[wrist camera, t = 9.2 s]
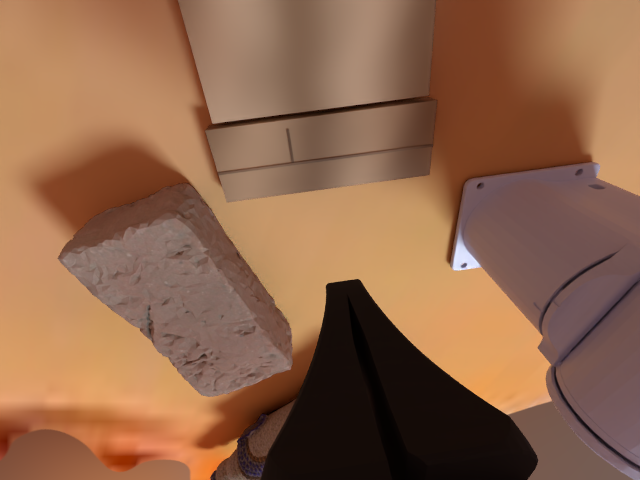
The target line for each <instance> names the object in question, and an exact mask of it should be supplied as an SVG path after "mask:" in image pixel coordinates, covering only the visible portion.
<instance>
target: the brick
mask: <svg viewBox="0 0 640 480" xmlns="http://www.w3.org/2000/svg"><path fill="white" fill-rule="evenodd" d="M58 259H59V261H60V262H61V263H62V264H63V265H64V266H65V267H66V268H67V269H68V270H69V272H70V273H71V274H73V275H75V276H76V278H77V279H78V280H79V281H80V282H81V283H82V284H83V285H84V286H86V288H87V289H88V290H89V291H90V292H91V293H92V295H94V296H96V297H97V298H98V299H99V300H100V301H101V302H102V303H103V304H105V305H107V306H108V307H109V308H110V309H111V310H113V311H114V312H115V313H117V314H118V315H120V316H121V317H122V318H124V319H125V320H126V321H128V322H129V323H130V324H132V325H133V326H135V327H138V328H140V331H141V332H142V333H143V334H144V335H145V336H146V337H147V338H149V339H150V340H151V341H152V343H153V345H154V347H155V348H156V349H157V351H158V352H159V353H162V355H163V356H165V357H168V358H169V360H170V362H171V363H172V364H173V366H174V367H175V368H177V371H178V372H179V373H180V374H181V375H182V376H183V378H184V379H185V380H186V381H188V382H189V383H190V384H191V385H192V387H193V388H194V389H195V390H197V391H198V392H199V393H200V394H201V395H203V396H208V397H211V396H218V395H221V394H228V393H230V392H232V391H236V390H239V389H241V388H243V387H246V386H250V385H253V384H256V383H258V382H260V381H261V380H264V379H266V378H268V377H271V376H272V375H273V374H276V373H280V372H284V371H287V370H291V366H292V364H293V361H292V349H293V348H292V334H291V328H290V326H289V323H288V322H287V320H286V319H285V317H284V316H283V314H282V312H281V311H280V310H278V309H277V308H275V302H274V299H273V298H272V297H270V296H269V294H268V293H267V291H266V289H265V288H264V287H263V285H262V284H261V282H260V281H259V279H258V277H257V276H256V275H255V274H254V273H253V272H252V270H251V268H250V267H249V265H248V264H247V263H246V261H245V260H244V259H243V258H242V257H241V255H240V253H239V252H238V250H237V249H236V247H235V246H234V244H233V243H232V242H231V241H230V239H229V238H228V237H227V236H226V234H225V232H224V230H223V228H222V226H221V225H220V224H219V222H218V220H217V219H216V217H215V216H214V214H213V213H212V211H211V210H210V208H209V207H208V206H207V205H206V204H205V202H204V201H203V200H202V198H201V196H200V195H199V194H198V193H197V192H196V190H195V189H194V188H193V187H192V186H191V185H189V184H187V183H184V184H177V185H175V186H173V187H169V186H167V187H164V188H162V189H161V190H160V191H158V192H156V193H155V194H153V195H150V196H149V197H148V198H144V199H141V200H137V201H136V202H133V203H132V204H125V205H123V206H121V207H114V208H110V209H107V210H105V211H104V212H102V213H100V214H98V215H95V216H94V217H93V218H92V219H90V220H89V221H88V222H87V223H86V224H85V226H84V227H83V228H82V229H80V230H79V231H78V232H77V233H76V234H75V235H74V238H73V240H70V241H69V242H68V243H67V244H66V245H65V246H64V248H63V249H62V251H61V253H60V255H59V257H58Z"/></svg>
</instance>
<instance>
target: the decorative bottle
mask: <svg viewBox="0 0 640 480" xmlns="http://www.w3.org/2000/svg"><path fill="white" fill-rule="evenodd" d="M295 400H296V399H295ZM295 400H293V401H292V402H290V403H289V404H287V405H285V406H284V407H282V408H280V409H278V410H277V411H275V412H273V413H271V414H269V415H268V416H267V415H265V414H262V415H261V416H260V418H259V419H258V421H257V422H256V423H255V424H253V425H251V426H250V427H248V428H247V429H246V430H245V431H244V432H243V434H242V435H241V437H240V438H239V439H238V441H237V443H238V445H237V449H236V450H235V451H234V452H233V454H232V455H231V456H230V457H229V458H227V459H225V460H224V461H222V462H221V463H220V464H219V466H218V467H217V470H216V471H214V472H213V474H212V475H211V477H210V479H211V480H261V476H262V472H263V468H264V465H265V461H266V458H267V454H268V451H269V450H270V448H271V446H272V444H273V442H274V441H275V439H276V437H277V435H278V433H279V432H280V430H281V428H282V426H283V425H284V423H285V421H286V419H287V417H288V415H289V413H290V411H291V409H292V407H293V405H294V402H295Z"/></svg>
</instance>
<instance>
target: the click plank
mask: <svg viewBox="0 0 640 480" xmlns="http://www.w3.org/2000/svg"><path fill="white" fill-rule="evenodd" d="M178 2H179V6H180V10H181V13H182V17H183V20H184V24H185V27H186V31H187V35H188V38H189V42H190V45H191V49H192V52H193V56H194V60H195V63H196V67H197V70H198V74H199V77H200V81H201V85H202V88H203V92H204V95H205V99H206V102H207V106H208V110H209V113H210V117H211V120H212V124H214V123H222V122H229V121H237V120H245V119H252V118H260V117H268V116H276V115H283V114H291V113H299V112H306V111H314V110H322V109H330V108H337V107H345V106H353V105H360V104H368V103H376V102H383V101H391V100H399V99H407V98H414V97H422V96H429V88H430V75H431V62H432V49H433V35H434V22H435V9H436V0H178Z"/></svg>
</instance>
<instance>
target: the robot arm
mask: <svg viewBox="0 0 640 480" xmlns="http://www.w3.org/2000/svg"><path fill="white" fill-rule="evenodd" d="M599 169H600V165H599V164H597V163H595V162H589V163H581V164H574V165H567V166H559V167H552V168H545V169H537V170H530V171H523V172H515V173H508V174H501V175H493V176H486V177H479V178H472V179H469V180H468V181H466V183H465V184H464V188H463V194H462V200H461V205H460V211H459V217H458V223H457V228H456V234H455V240H454V245H453V251H452V257H451V262H450V267H451V268H452V269H453V270H455V271H458V270H465V269H472V268H478V267H482V268H483V269H484V270H485V271H486V272H487V273H488V275H489V276H490V277H491V278H492V279H493V280H494V281H495V282H496V284H497V285H498V286H499V287H500V288H501V289H502V290H503V292H504V293H505V294H506V295H507V296H508V297H509V298H510V299H511V301H512V302H513V303H514V304H515V305H516V306H517V307H518V309H519V310H520V311H521V312H522V313H523V314H524V315H525V316H526V318H527V319H528V320H529V321H530V322H531V323H532V324H533V325H534V327H535V328H536V329H537V330H538V331H539V332H540V333H541V335H542V336H543V339H542V341H541V343H540V345H539V346H538V349H539V350H540V352H541V353H542V354H543V355H544V356H545V358H546V359H547V360H548V361H549V362H550V364H551V366H550V367H549V369H548V371H547V373H546V386H547V389H548V392H549V395H550V397H551V399H552V401H553V403H554V405H555V407H556V408H557V410H558V411H559V413H560V414H561V416H562V417H563V419H564V420H565V421H566V423H567V424H568V425H569V427H570V428H571V429H572V430H573V431H574V433H576V435H577V436H578V437H579V438H580V439H581V440H582V441H583V442H584V443H585V444H586V445H587V446H588V447H590V449H592V450H593V451H594V452H595V453H596V454H598V455H599V456H600V457H601V458H603V459H604V460H605V461H607V462H608V463H609V464H611V465H612V466H614V467H615V468H616V469H618V470H619V471H621V472H623V473H624V474H626V475H627V476H629V477H631V478H632V479H634V480H640V196H638V195H635V194H633V193H631V192H628V191H626V190H624V189H621V188H619V187H617V186H614V185H612V184H610V183H607V182H605V181H602V180H600V179H598V178H596V177H597V174H598V172H599ZM577 170H578V171H577ZM576 171H577V172H576ZM479 183H481V185H480V186H479V187H477V185H478V184H479ZM463 263H464V264H463ZM462 264H463V265H462ZM537 463H538V459H537V455H536V454H535V452H534V450H533V449H532V447H531V445H530V444H529V442H528V441H527V439H526V438H525V436H524V435H523V434H522V433H521V431H520V430H519V428H518V427H517V426H516V424H515V423H514V422H513V420H512V419H511V418H510V417H509V416H508V415H506V414H505V413H503V412H501V411H500V410H498V409H497V408H495V407H494V406H492V405H490V404H489V403H487V402H486V401H484V400H483V399H481V398H480V397H478V396H477V395H475V394H474V393H473V392H471V391H470V390H468V389H467V388H466V387H464V386H463V385H461V384H460V383H459V382H457V381H456V380H455V379H453V378H452V377H451V376H450V375H448V374H447V373H446V372H444V371H443V370H442V369H441V368H439V367H438V366H437V365H436V364H434V363H433V362H432V361H431V360H430V359H429V358H427V357H426V356H425V355H424V354H423V353H422V352H421V351H419V350H418V349H417V348H416V347H415V346H414V345H413V344H412V343H411V342H410V341H409V340H408V339H407V338H406V337H405V336H404V335H403V334H402V333H401V332H400V331H399V330H398V329H397V328H396V327H395V326H394V324H393V323H392V322H391V321H390V320H389V319H388V318H387V316H386V315H385V314H384V313H383V312H382V310H381V309H380V308H379V307H378V305H377V304H376V303H375V301H374V300H373V299H372V297H371V296H370V295H369V293H368V292H367V290H366V289H365V287H364V285H363V284H362V282H361V281H360V280H359V279H355V280H348V281H341V282H334V283H328V284H327V285H326V305H325V312H324V318H323V323H322V328H321V331H320V335H319V339H318V343H317V346H316V350H315V353H314V356H313V359H312V362H311V365H310V367H309V370H308V372H307V375H306V377H305V380H304V382H303V385H302V387H301V390H300V392H299V394H298V396H297V398H296V400H295V402H294V405H293V407H292V409H291V411H290V413H289V415H288V417H287V419H286V421H285V423H284V425H283V426H282V428H281V430H280V432H279V433H278V435H277V437H276V439H275V441H274V442H273V444H272V446H271V448H270V450H269V451H268V454H267V458H266V461H265V465H264V468H263V472H262V476H261V480H527V479H528V477H530V475H531V474H532V472H533V471H534V470H535V468H536V465H537Z"/></svg>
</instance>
